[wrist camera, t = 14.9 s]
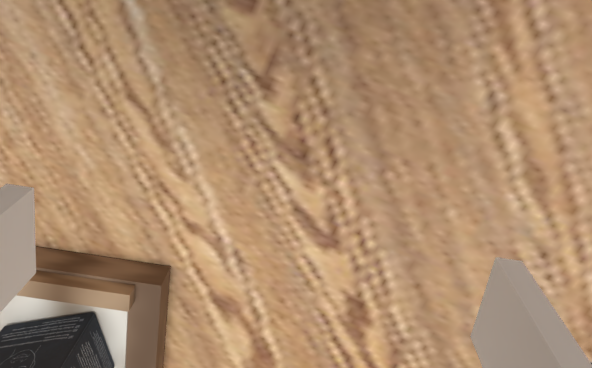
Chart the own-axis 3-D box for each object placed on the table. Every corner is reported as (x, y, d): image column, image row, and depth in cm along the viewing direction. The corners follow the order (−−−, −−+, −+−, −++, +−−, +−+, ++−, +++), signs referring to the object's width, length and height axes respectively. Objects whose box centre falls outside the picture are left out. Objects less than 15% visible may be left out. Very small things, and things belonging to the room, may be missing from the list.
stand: (-13, 372, 52) (-42, 409, 48) (-23, 237, 47) (-56, 265, 43) (160, 397, 52) (147, 435, 48) (170, 266, 47) (156, 296, 43)
